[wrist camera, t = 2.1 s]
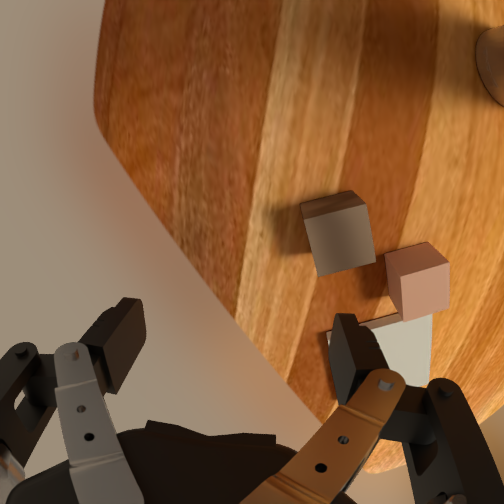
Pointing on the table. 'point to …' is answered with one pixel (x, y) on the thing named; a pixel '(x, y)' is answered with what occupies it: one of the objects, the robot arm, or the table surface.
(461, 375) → the table surface
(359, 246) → the walnut brick
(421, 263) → the pink cube
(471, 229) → the table surface
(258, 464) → the robot arm
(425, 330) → the base plate
